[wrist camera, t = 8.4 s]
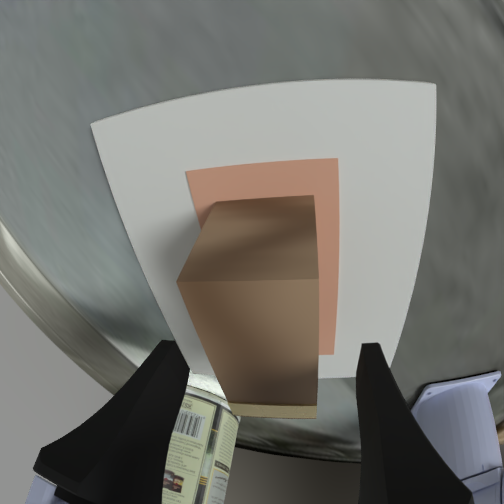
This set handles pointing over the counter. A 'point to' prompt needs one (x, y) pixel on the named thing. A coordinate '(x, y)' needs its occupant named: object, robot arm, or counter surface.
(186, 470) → the coffee can
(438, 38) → the counter surface
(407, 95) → the mat
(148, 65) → the counter surface
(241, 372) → the walnut block
